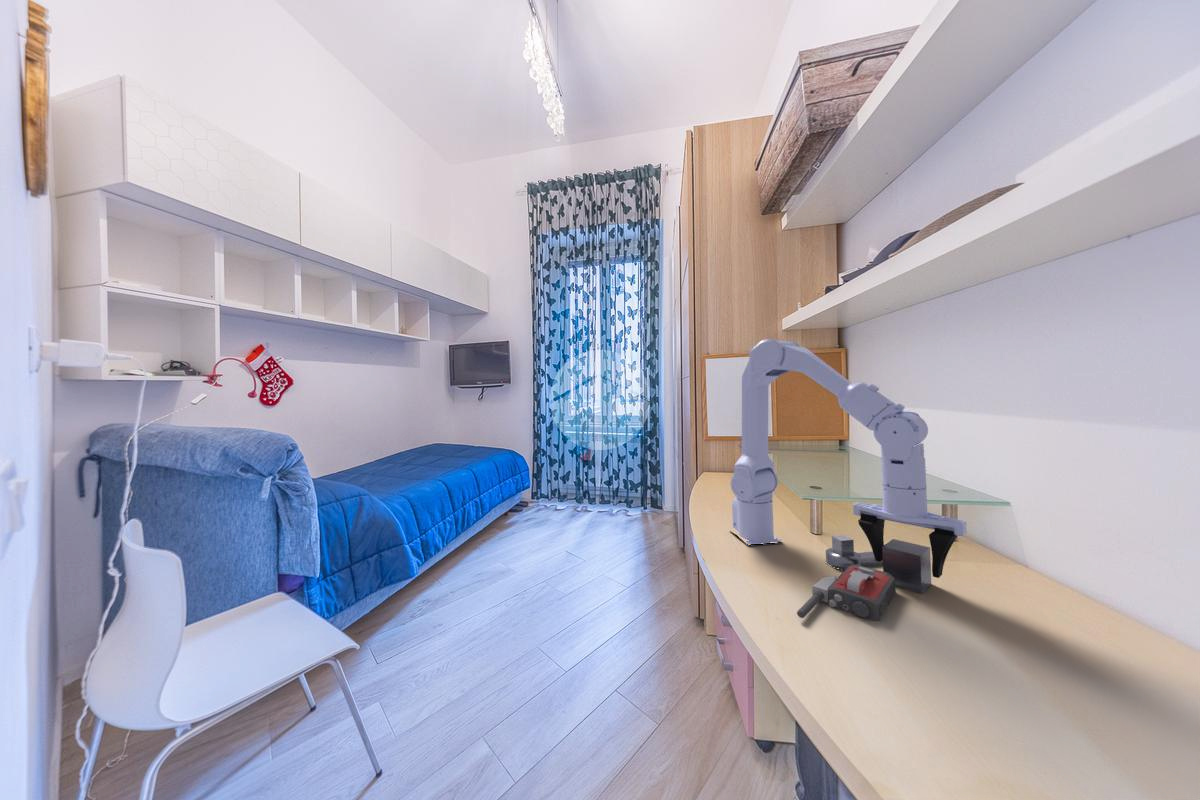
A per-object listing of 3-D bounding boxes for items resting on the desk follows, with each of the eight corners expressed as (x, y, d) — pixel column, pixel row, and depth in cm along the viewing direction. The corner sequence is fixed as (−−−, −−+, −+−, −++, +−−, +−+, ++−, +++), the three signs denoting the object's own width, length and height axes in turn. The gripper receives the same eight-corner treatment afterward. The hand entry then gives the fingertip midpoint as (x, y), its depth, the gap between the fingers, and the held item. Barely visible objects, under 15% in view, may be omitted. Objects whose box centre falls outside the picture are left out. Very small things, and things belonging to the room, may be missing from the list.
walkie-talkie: (837, 574, 67) (791, 621, 54) (837, 549, 67) (790, 591, 54) (899, 591, 60) (864, 651, 47) (898, 564, 60) (863, 616, 47)
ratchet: (840, 572, 67) (839, 544, 67) (819, 559, 72) (818, 533, 72) (924, 565, 68) (923, 537, 68) (897, 552, 74) (896, 527, 74)
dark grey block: (883, 582, 63) (882, 546, 63) (894, 573, 66) (893, 538, 66) (921, 594, 59) (920, 555, 59) (931, 583, 62) (930, 547, 62)
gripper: (970, 488, 59) (973, 575, 59) (863, 475, 70) (866, 547, 70) (958, 497, 54) (962, 590, 54) (846, 481, 66) (850, 558, 66)
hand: (907, 567), depth 62 cm, fingers open, 7 cm apart
